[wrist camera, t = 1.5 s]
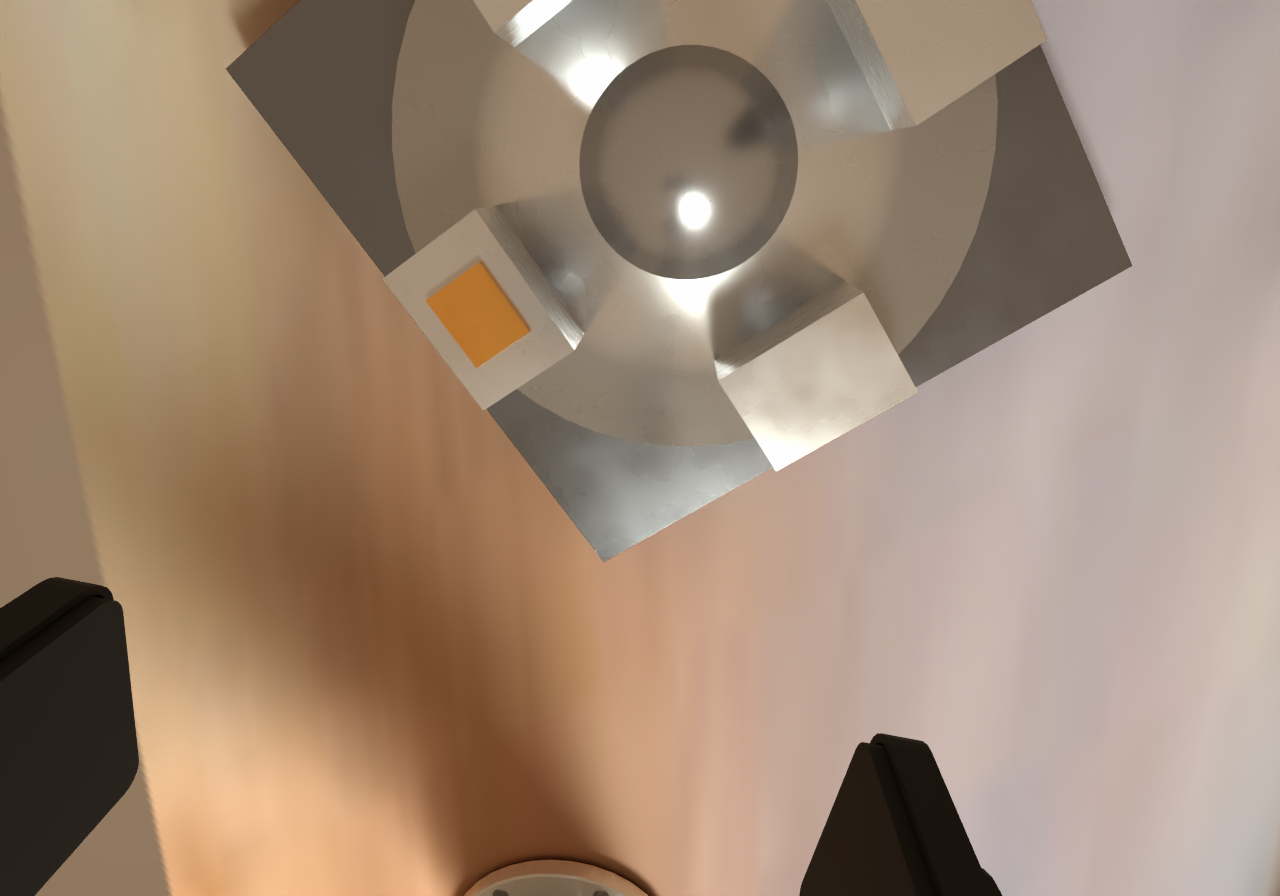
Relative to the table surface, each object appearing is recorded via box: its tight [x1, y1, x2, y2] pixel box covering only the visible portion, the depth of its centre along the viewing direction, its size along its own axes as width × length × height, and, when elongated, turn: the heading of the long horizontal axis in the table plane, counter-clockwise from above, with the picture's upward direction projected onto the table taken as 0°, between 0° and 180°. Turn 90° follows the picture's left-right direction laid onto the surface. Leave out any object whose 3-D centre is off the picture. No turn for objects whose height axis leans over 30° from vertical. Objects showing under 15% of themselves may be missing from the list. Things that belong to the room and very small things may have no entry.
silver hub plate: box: [382, 0, 1047, 471], centre depth 21 cm, size 18×18×5 cm
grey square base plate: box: [226, 0, 1132, 562], centre depth 25 cm, size 22×22×2 cm
